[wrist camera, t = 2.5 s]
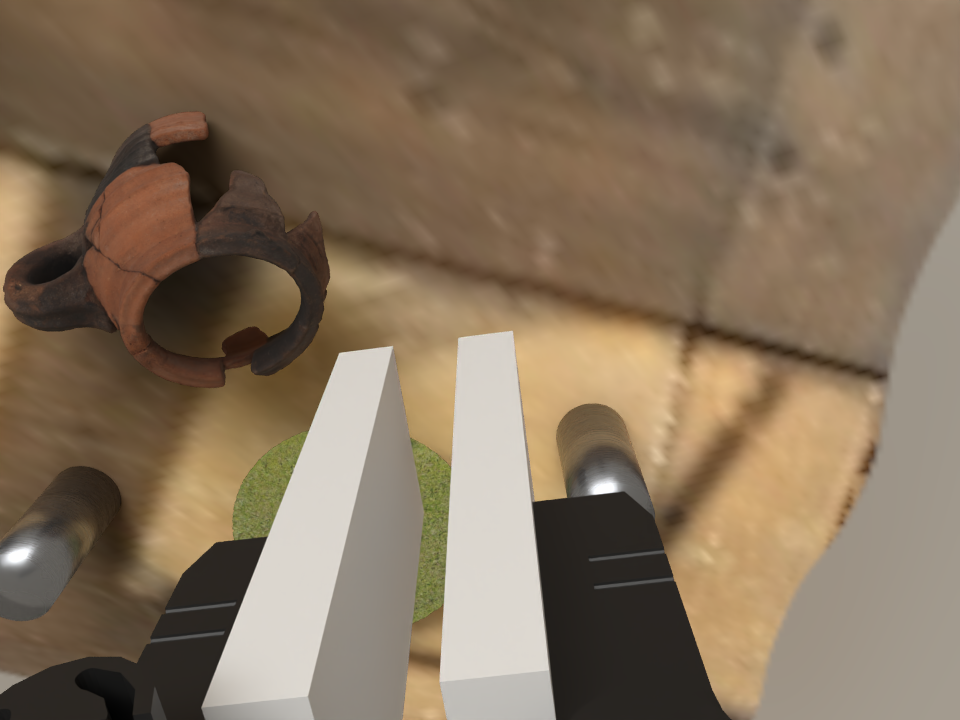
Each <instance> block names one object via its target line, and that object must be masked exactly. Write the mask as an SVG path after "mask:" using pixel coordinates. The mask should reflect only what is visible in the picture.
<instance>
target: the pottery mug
mask: <svg viewBox="0 0 960 720" xmlns="http://www.w3.org/2000/svg"><path fill="white" fill-rule="evenodd" d="M208 135H209V131H208V125H207V123H206V116H205V114H204V113H201V112H197V111H196V112H181V113H176V114H172V115H168V116H165V117H162V118H160V119H157V120H154V121H153V122H151V123H149V124H146V125H144V126H142V127H141V128H139V129H138V130H136V131H135V132H134V133H133V134H132V135H130V136H129V137H128V138H127V139H126V140H125V141H124V143H123V144H122V145H121V147H120V148H119V149H118V151H117V152H116V155H115V156H114V158H113V160H112V163H111V166H110V168H109V170H108V171H107V173H106V175H105V177H104V179H103V180H102V181H101V183H100V185H99V186H98V189H97V190H96V193H95V196H94V197H93V199H92V201H91V203H90V205H89V207H88V209H87V211H86V217H85V220H84V225H83V226H82V227H81V228H80V229H79V230H77V231H76V232H74V233H73V234H71V235H70V236H67V237H66V238H64V239H62V240H58V241H55V242H52V243H50V244H48V245H45V246H43V247H41V248H38V249H36V250H34V251H32V252H30V253H29V254H27V255H25V256H24V257H23V258H21V259H19V260H18V261H17V262H16V263H14V264H13V266H12V267H11V268H10V269H9V270H8V272H7V274H6V277H5V283H4V286H3V291H4V292H5V297H4V300H5V303H6V305H7V306H8V307H9V309H10V310H12V311H13V314H14V316H15V317H16V318H17V319H18V320H19V321H21V322H22V323H24V324H26V325H28V326H30V327H33V328H35V329H38V330H42V331H65V330H71V329H74V328H82V327H93V328H98V329H102V330H104V331H107V332H109V333H113V332H115V331H117V329H118V330H120V331H121V337H122V340H123V342H124V344H125V346H126V348H127V350H128V351H129V353H130V354H131V355H133V357H134V358H135V359H136V360H137V361H138V362H139V363H140V364H141V365H142V366H144V367H146V368H147V369H148V370H149V371H151V372H153V373H154V374H156V375H158V376H159V377H162V378H164V379H166V380H168V381H172V382H176V383H179V384H181V385H187V386H192V387H203V388H216V387H222V386H224V385H225V378H226V377H225V370H227V369H232V368H238V367H242V366H245V365H248V364H251V371H252V373H254V374H255V375H264V376H269V375H272V374H274V373H276V372H278V371H279V370H281V369H283V368H284V367H286V366H287V365H289V364H290V363H291V362H292V361H293V360H294V359H295V358H297V357H298V356H299V355H300V354H302V353H303V351H304V350H305V349H306V348H307V347H308V346H309V344H310V343H311V342H312V340H313V338H314V336H315V334H316V332H317V330H318V328H319V325H318V323H319V322H320V321H321V319H322V314H323V311H324V303H323V302H324V300H325V298H326V295H327V290H326V287H327V285H328V283H329V280H330V269H329V265H328V259H327V257H326V253H325V247H324V240H323V236H322V227H321V223H320V219H319V215H318V213H317V212H316V211H313V212H311V213H310V214H309V216H308V218H307V220H305V221H304V223H302V224H300V225H298V226H297V227H296V228H294V229H292V230H291V231H289V232H287V233H286V232H285V224H284V216H283V214H282V213H281V210H280V207H279V206H278V204H277V203H276V202H275V200H274V199H273V198H272V197H271V196H270V195H269V194H268V193H267V190H266V187H265V184H264V182H263V181H262V180H261V179H260V178H259V177H257V176H254V175H252V174H249V173H247V172H244V171H241V170H234V171H233V172H232V173H231V176H230V182H229V191H227V192H226V193H225V194H224V195H223V196H222V197H221V198H220V199H219V200H218V202H217V203H216V205H215V206H214V208H213V209H212V210H211V211H210V212H209V213H208V214H206V215H205V216H204V217H203V219H202V220H201V221H199V222H196V219H195V217H194V212H193V207H192V203H191V196H190V182H191V181H190V176H189V174H188V172H186V171H185V170H184V168H183V167H182V166H180V165H178V164H176V163H164V164H160V161H159V158H158V157H157V155H156V154H155V153H156V151H157V149H158V148H159V147H163V146H167V145H171V144H176V143H181V142H189V141H196V140H204V139H206V138H207V137H208ZM227 255H239V256H247V257H252V258H256V259H261V260H264V261H267V262H270V263H272V264H275V265H276V266H278V267H280V268H282V269H284V270H286V271H287V272H288V274H289V275H290V276H291V277H292V278H293V279H294V280H295V282H296V284H297V285H298V287H299V289H300V293H301V305H300V309H299V312H298V314H297V315H296V318H295V320H294V321H293V323H292V324H291V325H290V326H289V328H287V329H285V330H283V331H281V332H280V333H278V334H275V335H273V336H271V337H268V336H267V335H266V334H265V333H264V332H262V331H261V330H260V329H259V328H257V327H255V326H254V327H248V328H246V329H244V330H242V331H239V332H237V333H235V334H234V335H232V336H229V337H228V338H226V339H225V340H224V341H223V342H222V350H223V352H224V354H226V356H225V357H219V358H198V357H190V356H185V355H180V354H176V353H173V352H170V351H168V350H166V349H164V348H163V347H161V346H160V345H158V344H157V343H156V342H154V341H153V339H152V338H151V336H150V335H148V334H147V333H146V330H145V327H144V322H143V313H144V308H145V305H146V303H147V301H148V299H149V297H150V295H151V294H152V292H153V291H154V290H155V289H156V287H157V286H158V285H159V284H160V282H161V281H163V280H165V279H166V278H167V277H168V276H170V275H171V274H172V273H174V272H176V271H177V270H179V269H181V268H183V267H185V266H187V265H189V264H192V263H194V262H197V261H199V260H200V259H202V258H205V257H207V258H209V257H218V256H227Z"/></svg>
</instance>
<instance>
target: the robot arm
mask: <svg viewBox="0 0 960 720" xmlns="http://www.w3.org/2000/svg"><path fill="white" fill-rule="evenodd" d="M423 516H424V510H423V504H422V499H421V494H420V488H419V483H418V478H417V472H416V467H415V462H414V456H413V451H412V446H411V440H410V435H409V429H408V424H407V419H406V413H405V408H404V403H403V397H402V392H401V387H400V381H399V376H398V371H397V365H396V360H395V355H394V349H393V346H390V347H382V348H374V349H366V350H358V351H350V352H342V353H339V355H338V358H337V360H336V363H335V366H334V368H333V371H332V373H331V376H330V378H329V381H328V384H327V386H326V389H325V391H324V394H323V396H322V399H321V402H320V404H319V407H318V409H317V412H316V414H315V417H314V420H313V422H312V425H311V427H310V430H309V432H308V435H307V437H306V440H305V443H304V445H303V448H302V450H301V453H300V455H299V458H298V461H297V463H296V466H295V468H294V471H293V473H292V476H291V479H290V481H289V484H288V486H287V489H286V491H285V494H284V497H283V499H282V502H281V504H280V507H279V509H278V512H277V515H276V517H275V520H274V522H273V525H272V527H271V530H270V533H269V535H268V536H267V537H258V538H250V539H241V540H233V541H224V542H216V543H215V544H214V545H213V546H212V547H211V548H210V549H209V550H208V551H206V552H205V553H204V554H203V555H202V556H201V557H200V558H199V559H198V560H197V561H196V562H195V563H194V564H193V565H191V566H190V567H189V568H188V569H187V570H186V571H185V572H184V573H183V574H182V576H181V578H180V580H179V582H178V584H177V586H176V588H175V590H174V592H173V594H172V596H171V598H170V600H169V602H168V604H167V606H166V608H165V609H166V614H164V615H161V617H160V619H159V621H158V623H157V625H156V627H155V629H154V631H153V633H152V635H151V644H147V645H146V647H145V649H144V650H143V652H142V654H141V656H140V658H139V660H138V662H137V664H136V663H134V662H131V661H129V660H127V659H124V658H122V657H86V658H82V659H78V660H75V661H71V662H67V663H63V664H60V665H56V666H52V667H49V668H47V669H45V670H43V671H41V672H39V673H37V674H35V675H33V676H31V677H29V678H27V679H25V680H23V681H21V682H19V683H17V684H15V685H13V686H11V687H10V688H9V689H7V690H6V691H4V692H3V693H2V694H0V720H402V719H403V709H404V700H405V690H406V680H407V671H408V661H409V651H410V642H411V632H412V622H413V613H414V603H415V593H416V584H417V574H418V565H419V555H420V545H421V536H422V526H423ZM440 687H441V692H442V697H443V702H444V707H445V712H446V717H447V720H731V719H730V718H729V717H728V716H727V714H726V713H725V712H724V711H723V710H722V708H721V706H720V704H719V702H718V700H717V698H716V696H715V695H714V693H713V691H712V688H711V685H710V682H709V679H708V676H707V673H706V670H705V667H704V664H703V661H702V658H701V656H700V653H699V650H698V647H697V644H696V641H695V638H694V635H693V632H692V629H691V626H690V623H689V620H688V617H687V614H686V611H685V608H684V606H683V603H682V600H681V597H680V594H679V591H678V588H677V585H676V582H674V579H673V573H672V570H671V567H670V564H669V561H668V559H667V556H666V554H665V553H664V547H663V544H662V541H661V538H660V535H659V532H658V529H657V526H656V523H655V520H654V517H653V515H652V514H650V513H649V512H648V511H647V510H646V509H645V508H643V507H642V506H641V505H640V504H639V503H638V502H636V501H635V500H634V499H633V498H632V497H631V496H629V495H628V494H627V493H626V492H625V491H622V492H614V493H605V494H597V495H588V496H580V497H571V498H563V499H554V500H546V501H537V502H535V500H534V492H533V485H532V477H531V469H530V461H529V453H528V446H527V438H526V430H525V422H524V415H523V407H522V399H521V391H520V383H519V376H518V368H517V360H516V352H515V345H514V337H513V331H508V332H500V333H492V334H484V335H476V336H468V337H460V338H458V356H457V375H456V393H455V411H454V429H453V447H452V466H451V484H450V502H449V520H448V538H447V557H446V575H445V593H444V611H443V629H442V648H441V666H440Z"/></svg>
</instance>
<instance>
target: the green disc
mask: <svg viewBox="0 0 960 720" xmlns="http://www.w3.org/2000/svg"><path fill="white" fill-rule="evenodd" d="M308 432H309V431H305V432H301V433H300V434H297V435H296V436H293V437H291V438H290V439H287V440H285V441H283V442H282V443H280V444H279V445H277V446H275V447H273V448H272V449H271V450H270V451H268V452H267V453H266V454H265V455H264V456H263V457H262V458H261V459H260V460H258V462H257V463H256V464H255V466H254V467H253V468H252V469H251V470H250V472H249V473H248V475H247V476H246V478H245V479H244V480H243V482H242V483H243V484H242V485H241V487H240V489H239V492H238V494H237V499H236V502H235V505H234V512H233V520H232V521H233V528H232V529H233V530H234V531H233V537H234V540H241V539H250V538H258V537H267V536H268V535H269V533H270V530H271V527H272V525H273V522H274V520H275V517H276V515H277V512H278V509H279V507H280V504H281V502H282V499H283V497H284V494H285V491H286V489H287V486H288V484H289V481H290V479H291V476H292V473H293V471H294V468H295V466H296V463H297V461H298V458H299V455H300V453H301V450H302V448H303V445H304V443H305V440H306V437H307V435H308ZM410 440H411V446H412V451H413V456H414V462H415V467H416V472H417V478H418V483H419V488H420V494H421V499H422V504H423V510H424V516H423V526H422V536H421V545H420V555H419V565H418V574H417V584H416V593H415V603H414V613H413V622H412V623H414V622H415V621H419V620H420V619H424V618H425V617H427V616H428V615H429V614H431V613H432V612H433V611H434V610H437V609H439V608H440V607H441V606H442V604H443V603H444V593H445V575H446V557H447V538H448V520H449V502H450V484H451V467H450V466H449V465H448V464H447V463H446V462H445V461H444V460H442V459H441V458H440V457H439V456H438V455H437V454H436V453H435V452H434V451H432V450H430V449H429V448H428V447H426V446H425V445H423V444H421V443H419V442H418V441H416V440H413V439H412V438H410Z"/></svg>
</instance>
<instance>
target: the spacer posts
mask: <svg viewBox="0 0 960 720" xmlns="http://www.w3.org/2000/svg"><path fill="white" fill-rule="evenodd" d="M557 443H558V449H559V454H560V460H561V466H562V471H563V477H564V482H565V488H566V493H567V498H571V497H580V496H588V495H597V494H605V493H614V492H622V491H625V492H626V493H627V494H628V495H629V496H631V497H632V498H633V499H634V500H635V501H636V502H638V503H639V504H640V505H641V506H642V507H643V508H645V509H646V510H647V511H648V512H649V513H650V514H652V515H653V517H654V520H655V512H654V508H653V505H652V502H651V499H650V496H649V493H648V490H647V487H646V484H645V482H644V479H643V476H642V473H641V470H640V467H639V464H638V461H637V458H636V456H635V453H634V450H633V447H632V444H631V441H630V438H629V435H628V433H627V430H626V427H625V424H624V422H623V420H622V418H621V417H620V415H619V414H618V413H617V412H616V411H614V410H613V409H611V408H610V407H607V406H605V405H601V404H585V405H581V406H578V407H576V408H574V409H572V410H571V411H570V412H568V413H567V414H566V415H565V416H564V417H563V419H562V420H561V422H560V424H559V426H558V429H557ZM120 504H121V497H120V493H119V490H118V488H117V486H116V484H115V483H114V482H113V481H112V480H111V479H110V478H109V477H108V476H107V475H106V474H104V473H103V472H101V471H99V470H96V469H94V468H90V467H82V466H79V467H72V468H69V469H66V470H64V471H63V472H61V473H60V474H59V475H58V476H57V477H56V478H55V479H54V481H53V482H52V483H51V484H50V485H49V486H48V487H47V488H46V490H45V491H44V492H43V493H42V494H41V495H40V496H39V498H38V499H37V500H36V501H35V502H34V503H33V504H32V506H31V507H30V508H29V509H28V510H27V511H26V512H25V513H24V515H23V516H22V517H21V518H20V519H19V520H18V521H17V523H16V524H15V525H14V526H13V527H12V528H11V529H10V531H9V532H8V533H7V534H6V535H5V536H4V537H3V538H2V540H1V541H0V617H3V618H6V619H10V620H15V621H28V620H33V619H36V618H39V617H41V616H42V615H44V614H45V613H46V612H48V610H49V609H50V608H51V606H52V605H53V604H54V602H55V601H56V599H57V598H58V596H59V595H60V594H61V592H62V591H63V589H64V588H65V586H66V585H67V584H68V582H69V581H70V579H71V578H72V577H73V575H74V574H75V572H76V571H77V569H78V568H79V567H80V565H81V564H82V562H83V561H84V559H85V558H86V557H87V555H88V554H89V552H90V551H91V549H92V548H93V547H94V545H95V544H96V542H97V541H98V539H99V538H100V537H101V535H102V534H103V532H104V531H105V529H106V528H107V527H108V525H109V524H110V522H111V521H112V519H113V518H114V517H115V515H116V514H117V512H118V510H119V508H120Z"/></svg>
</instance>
